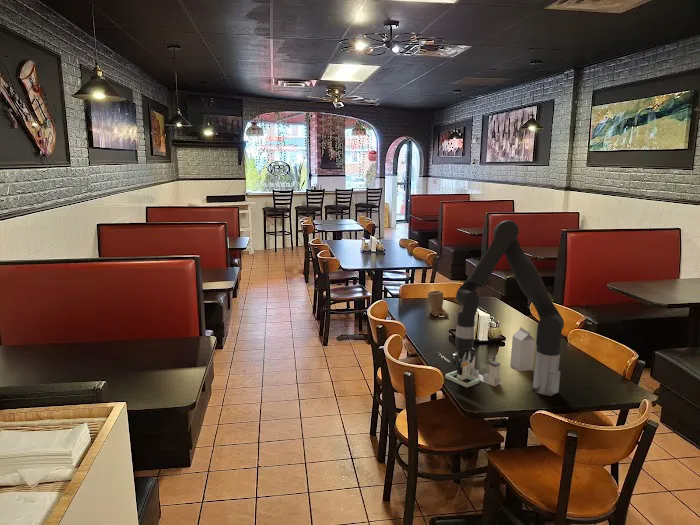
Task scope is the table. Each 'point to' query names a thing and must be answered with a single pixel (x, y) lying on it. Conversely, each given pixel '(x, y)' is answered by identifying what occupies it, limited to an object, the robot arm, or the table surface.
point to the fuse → (463, 370)
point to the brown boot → (437, 303)
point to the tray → (473, 381)
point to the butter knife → (444, 358)
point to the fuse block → (493, 373)
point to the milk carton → (522, 350)
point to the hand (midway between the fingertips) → (462, 373)
